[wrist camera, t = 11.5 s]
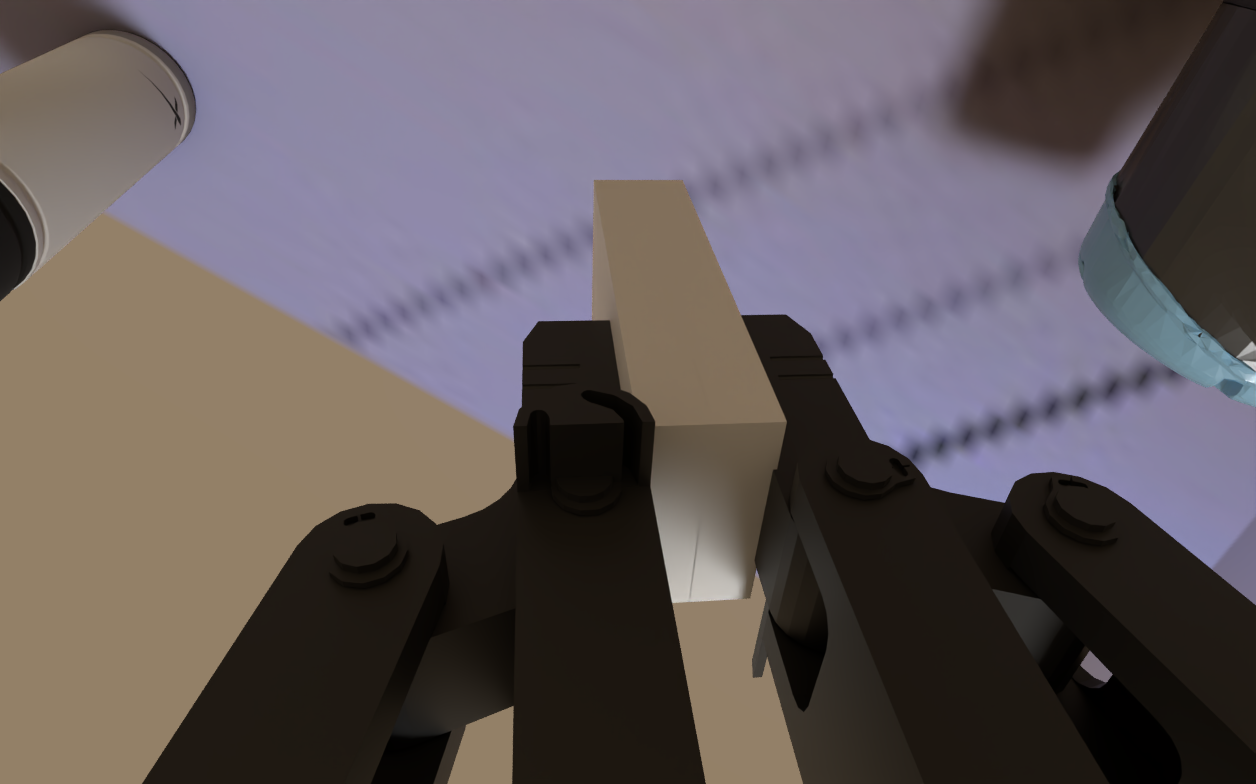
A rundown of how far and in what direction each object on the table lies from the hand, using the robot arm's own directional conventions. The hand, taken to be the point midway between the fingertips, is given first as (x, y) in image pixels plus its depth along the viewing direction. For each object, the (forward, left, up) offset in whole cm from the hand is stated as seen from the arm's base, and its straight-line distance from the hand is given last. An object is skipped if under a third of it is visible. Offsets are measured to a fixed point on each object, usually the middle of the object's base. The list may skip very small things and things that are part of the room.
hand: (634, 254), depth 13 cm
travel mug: (+23, +6, -33) cm, 40 cm away
